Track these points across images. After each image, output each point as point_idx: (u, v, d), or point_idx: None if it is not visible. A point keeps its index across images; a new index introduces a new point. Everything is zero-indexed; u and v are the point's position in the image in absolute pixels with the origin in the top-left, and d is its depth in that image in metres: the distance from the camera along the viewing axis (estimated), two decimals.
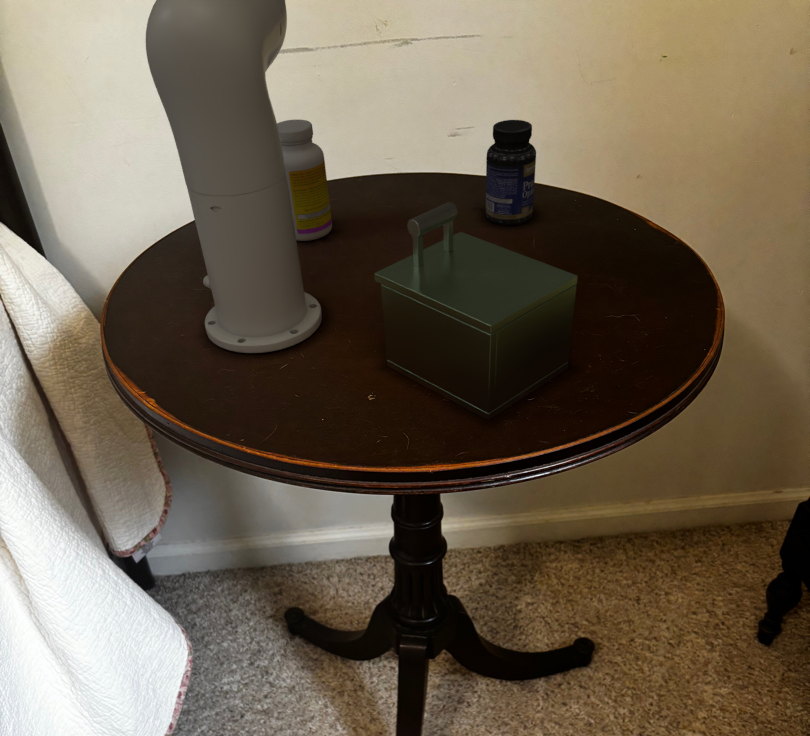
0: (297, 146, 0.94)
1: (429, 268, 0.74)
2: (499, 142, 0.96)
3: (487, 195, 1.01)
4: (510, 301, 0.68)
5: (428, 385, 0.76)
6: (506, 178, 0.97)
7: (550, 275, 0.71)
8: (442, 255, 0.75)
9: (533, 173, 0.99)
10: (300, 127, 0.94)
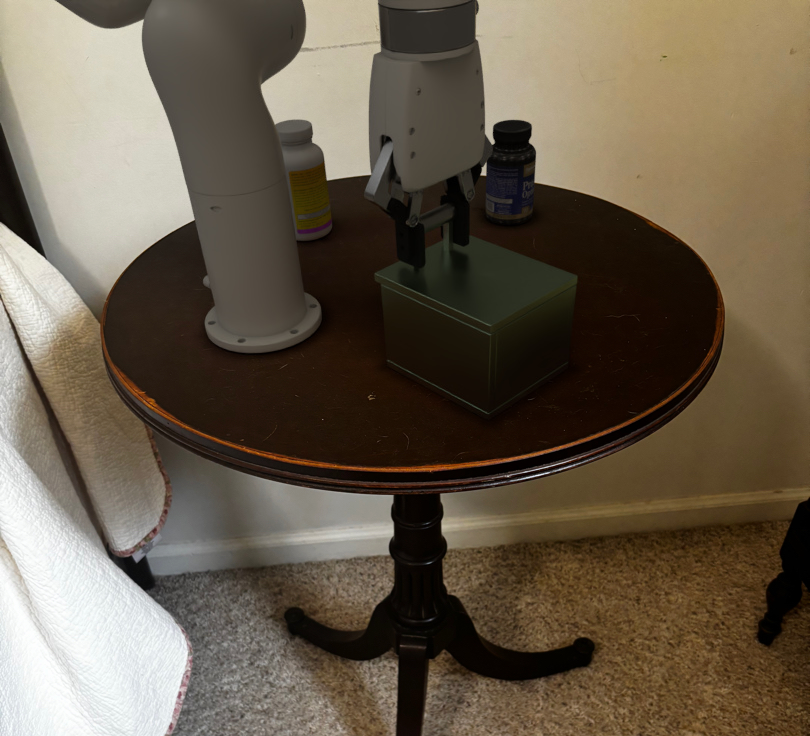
0: (297, 146, 0.94)
1: (429, 268, 0.74)
2: (499, 142, 0.96)
3: (487, 195, 1.01)
4: (510, 301, 0.68)
5: (428, 385, 0.76)
6: (506, 178, 0.97)
7: (550, 275, 0.71)
8: (442, 255, 0.75)
9: (533, 173, 0.99)
10: (299, 127, 0.94)
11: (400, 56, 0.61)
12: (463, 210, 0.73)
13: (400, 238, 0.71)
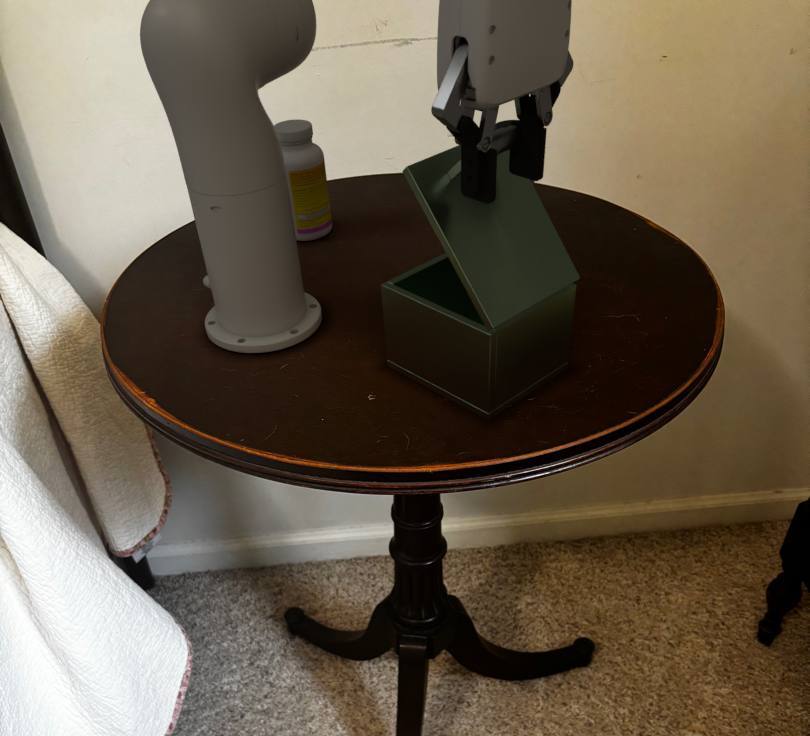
0: (297, 146, 0.94)
1: (460, 189, 0.66)
2: None
3: None
4: (518, 294, 0.67)
5: (428, 385, 0.76)
6: None
7: (559, 265, 0.70)
8: None
9: None
10: (299, 127, 0.94)
11: None
12: (539, 136, 0.63)
13: (468, 167, 0.61)
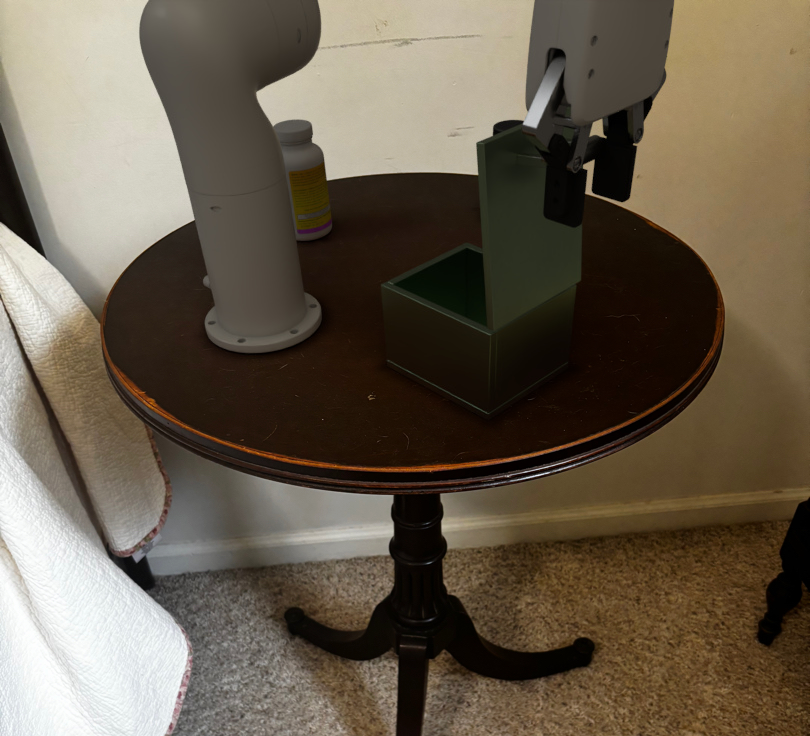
0: (297, 146, 0.94)
1: (521, 176, 0.61)
2: None
3: None
4: (526, 296, 0.67)
5: (428, 385, 0.76)
6: None
7: (570, 266, 0.69)
8: None
9: None
10: (299, 127, 0.94)
11: None
12: (629, 155, 0.58)
13: (554, 188, 0.56)
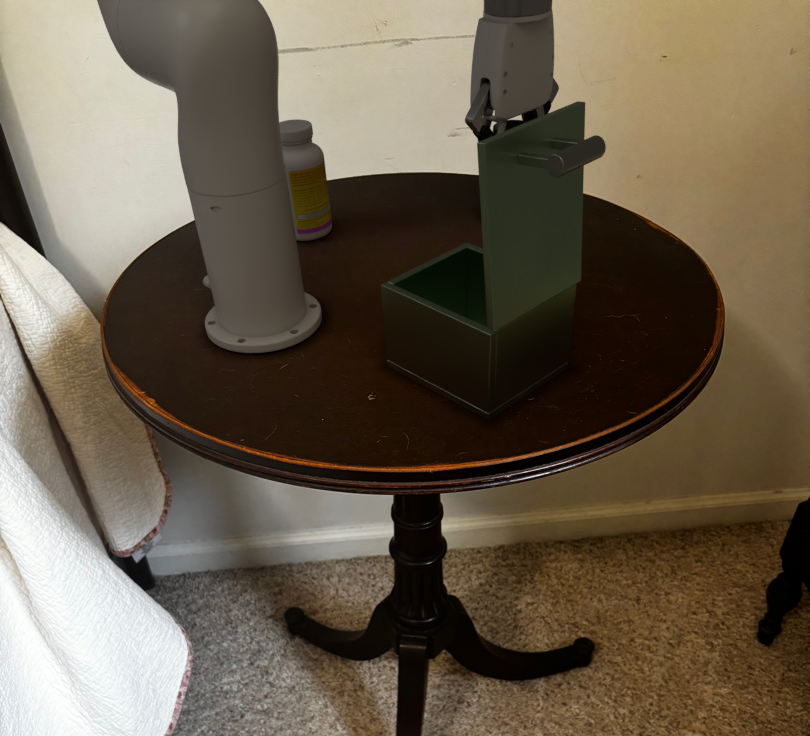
0: (297, 146, 0.94)
1: (522, 176, 0.60)
2: None
3: None
4: (526, 296, 0.67)
5: (428, 385, 0.76)
6: None
7: (570, 266, 0.69)
8: (545, 152, 0.61)
9: None
10: (299, 127, 0.94)
11: (499, 19, 0.86)
12: None
13: None
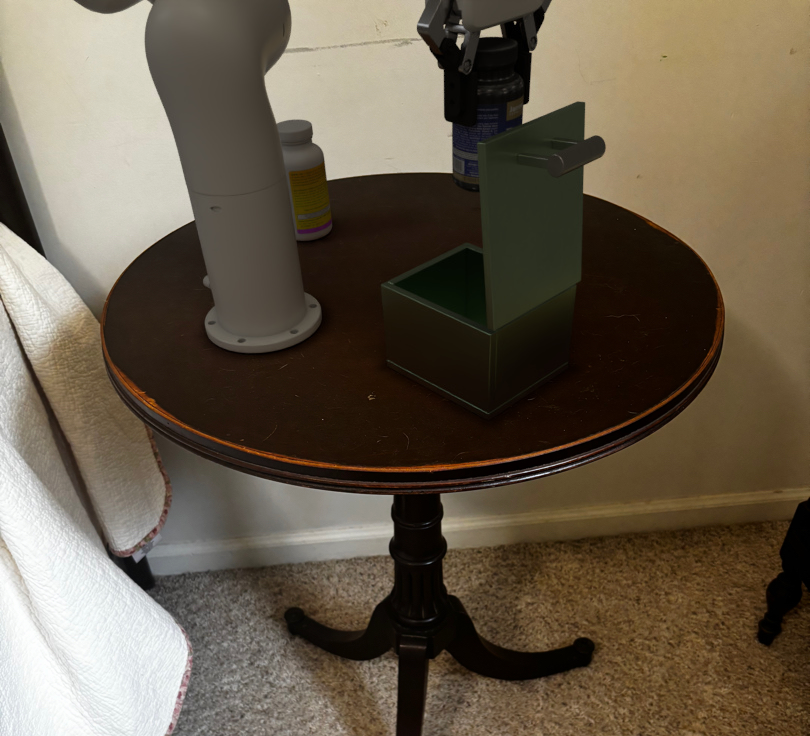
0: (297, 146, 0.94)
1: (522, 176, 0.60)
2: None
3: (454, 150, 0.70)
4: (526, 296, 0.67)
5: (428, 385, 0.76)
6: (482, 122, 0.66)
7: (570, 266, 0.69)
8: (545, 152, 0.61)
9: (520, 116, 0.68)
10: (299, 127, 0.94)
11: None
12: (525, 60, 0.67)
13: (450, 91, 0.65)
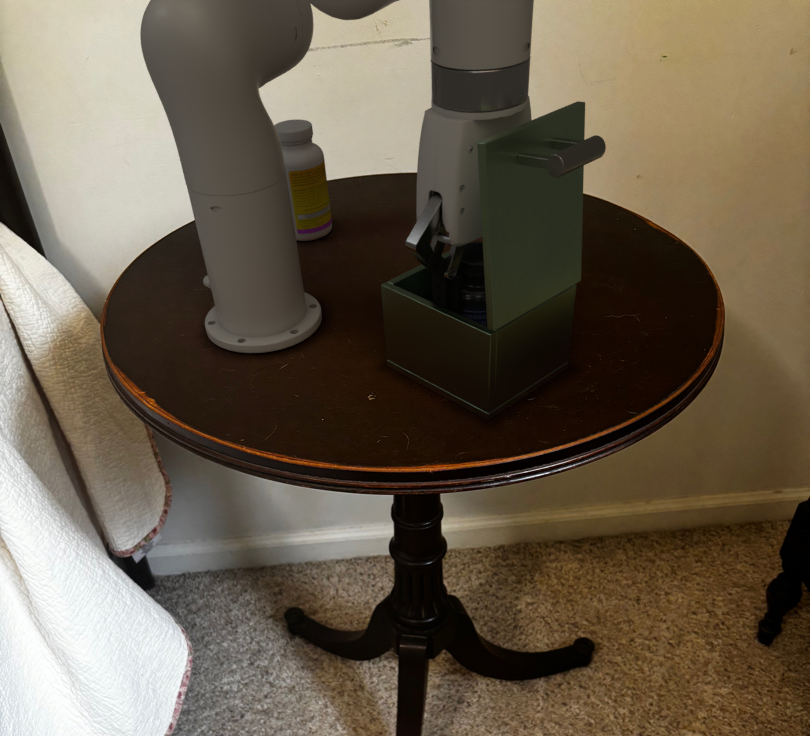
0: (297, 146, 0.94)
1: (522, 176, 0.60)
2: (461, 275, 0.70)
3: None
4: (526, 296, 0.67)
5: (428, 385, 0.76)
6: None
7: (570, 266, 0.69)
8: (545, 152, 0.61)
9: None
10: (299, 127, 0.94)
11: (453, 114, 0.60)
12: None
13: (437, 289, 0.70)
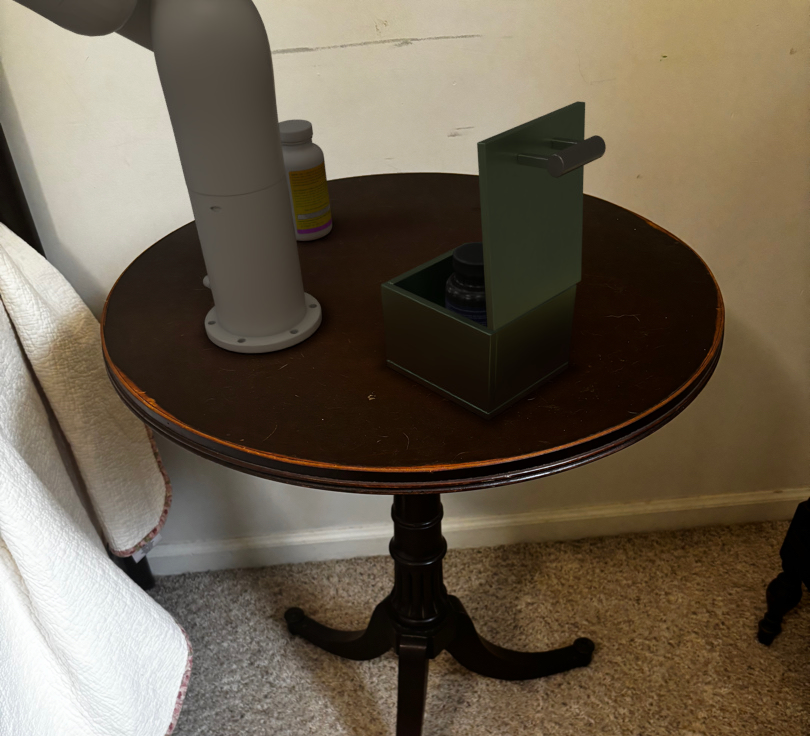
0: (297, 146, 0.94)
1: (522, 176, 0.60)
2: (461, 275, 0.70)
3: None
4: (526, 296, 0.67)
5: (428, 385, 0.76)
6: None
7: (570, 266, 0.69)
8: (545, 152, 0.61)
9: None
10: (299, 127, 0.94)
11: None
12: None
13: None
